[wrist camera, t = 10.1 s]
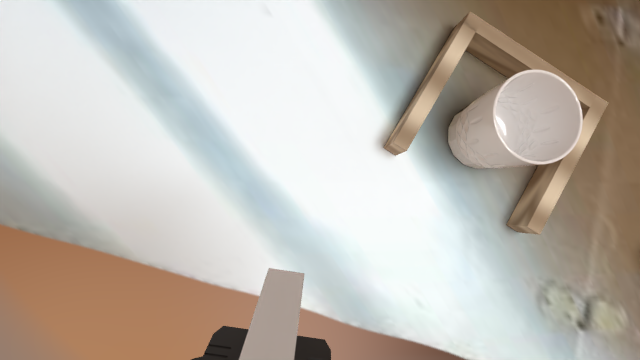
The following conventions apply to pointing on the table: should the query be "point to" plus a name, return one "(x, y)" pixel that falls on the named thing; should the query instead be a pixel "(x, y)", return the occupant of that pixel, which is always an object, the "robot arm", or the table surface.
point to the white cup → (518, 123)
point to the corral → (508, 62)
